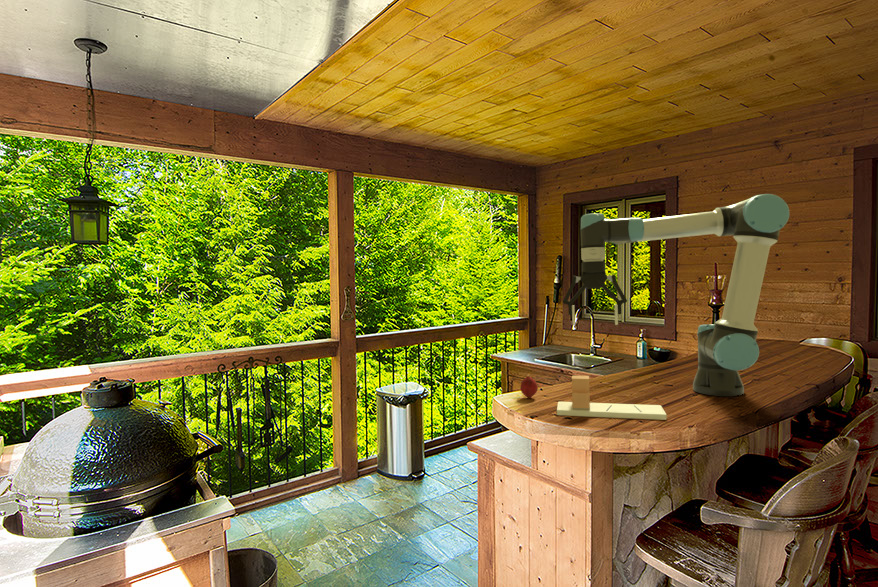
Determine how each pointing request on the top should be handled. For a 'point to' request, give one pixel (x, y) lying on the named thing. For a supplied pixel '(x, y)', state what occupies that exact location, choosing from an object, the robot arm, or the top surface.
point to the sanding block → (580, 393)
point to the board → (614, 411)
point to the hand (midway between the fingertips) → (594, 324)
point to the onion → (529, 387)
